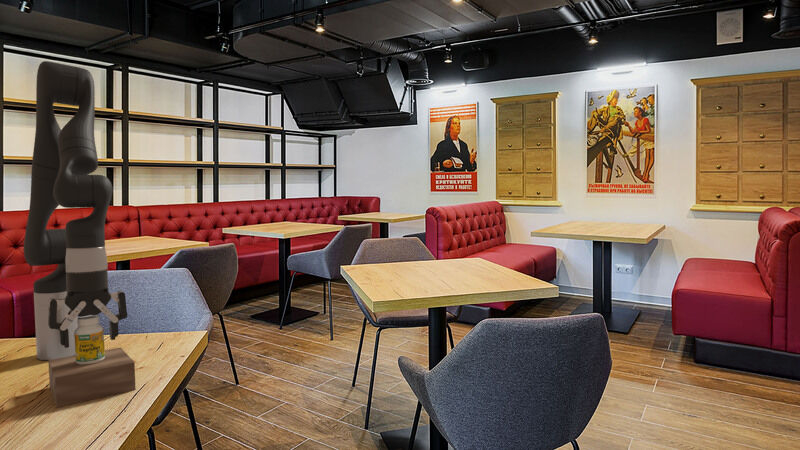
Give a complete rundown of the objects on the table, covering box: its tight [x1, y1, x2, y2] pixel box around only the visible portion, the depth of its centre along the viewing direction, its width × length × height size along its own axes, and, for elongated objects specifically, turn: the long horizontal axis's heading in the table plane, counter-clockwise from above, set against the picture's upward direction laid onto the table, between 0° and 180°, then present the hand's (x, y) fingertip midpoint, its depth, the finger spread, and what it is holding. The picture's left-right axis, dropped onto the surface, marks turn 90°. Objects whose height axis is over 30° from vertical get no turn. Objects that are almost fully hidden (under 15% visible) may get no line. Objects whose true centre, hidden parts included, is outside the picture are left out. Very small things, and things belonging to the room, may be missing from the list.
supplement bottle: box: [74, 315, 106, 365], centre depth 108 cm, size 5×5×10 cm
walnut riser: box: [47, 347, 137, 408], centre depth 108 cm, size 14×14×6 cm
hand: (90, 343), depth 108 cm, fingers open, 8 cm apart
